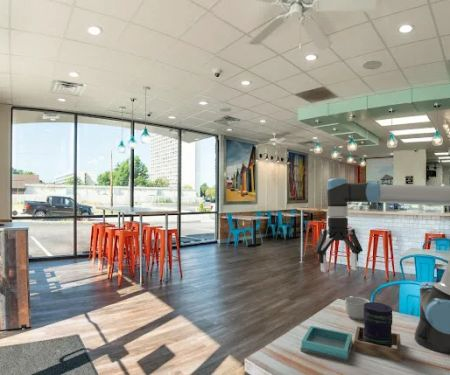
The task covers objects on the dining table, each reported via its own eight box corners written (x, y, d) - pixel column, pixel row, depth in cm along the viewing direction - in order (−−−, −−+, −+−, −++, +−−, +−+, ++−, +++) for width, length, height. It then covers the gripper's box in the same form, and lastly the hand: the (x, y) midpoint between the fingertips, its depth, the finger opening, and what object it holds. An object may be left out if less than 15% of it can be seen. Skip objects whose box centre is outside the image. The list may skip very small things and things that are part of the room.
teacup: (372, 323, 140) (372, 305, 140) (346, 320, 142) (347, 302, 142) (365, 312, 154) (365, 295, 154) (341, 309, 156) (342, 293, 156)
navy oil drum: (363, 350, 115) (363, 308, 115) (362, 338, 124) (362, 300, 124) (394, 355, 111) (394, 313, 111) (391, 344, 120) (391, 304, 120)
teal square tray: (352, 343, 120) (352, 333, 120) (348, 362, 106) (348, 351, 106) (310, 334, 127) (310, 325, 127) (300, 350, 113) (300, 341, 113)
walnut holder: (399, 343, 121) (399, 334, 121) (401, 361, 107) (401, 350, 107) (357, 334, 127) (357, 326, 127) (354, 350, 114) (354, 340, 114)
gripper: (359, 216, 132) (360, 267, 131) (304, 217, 127) (305, 270, 126) (371, 216, 125) (372, 270, 124) (313, 218, 120) (314, 274, 119)
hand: (338, 270), depth 125 cm, fingers open, 13 cm apart
